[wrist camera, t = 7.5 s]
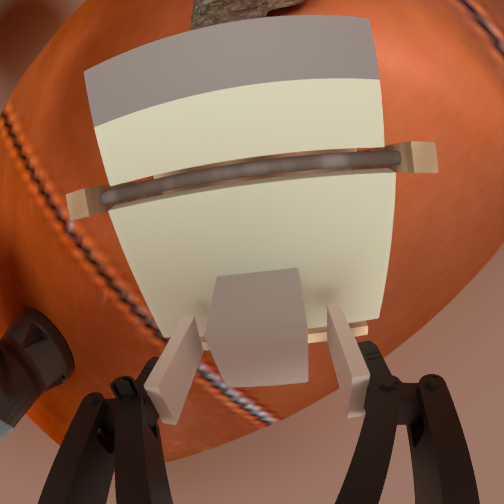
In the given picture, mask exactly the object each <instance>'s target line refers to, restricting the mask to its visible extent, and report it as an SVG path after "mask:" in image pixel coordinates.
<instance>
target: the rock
mask: <svg viewBox="0 0 504 504" xmlns="http://www.w3.org/2000/svg"><path fill="white" fill-rule="evenodd" d="M304 1H305V0H194V1H193V3H194V6H193V11H192V17H191V20H192V22H191V30H195V29H199V28H203V27H208V26H213V25H217V24H223V23H228V22H234V21H240V20H247V19H255V18H264V17H266V16H267V13H268V11H271V10H274V9H278V8H282V7H289V6H293V5H296V4H301V3H302V2H304Z"/></svg>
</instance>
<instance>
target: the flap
mask: <svg viewBox="0 0 504 504" xmlns="http://www.w3.org/2000/svg"><path fill="white" fill-rule="evenodd" d="M84 76H85V83H86V89H87V94H88V100H89V105H90V110H91V115H92V119H93V124H94V128H95V133H96V137H97V141H98V145H99V149H100V153H101V156H102V160H103V164H104V167H105V171H106V174H107V178H108V181H109V184H110V186H114V185H117V184H121V183H125V182H129V181H133V180H137V179H141V178H145V177H149V176H153V175H158V174H162V173H166V172H171V171H176V170H181V169H185V168H190V167H196V166H201V165H206V164H212V163H218V162H224V161H230V160H236V159H243V158H250V157H258V156H265V155H273V154H282V153H292V152H302V151H314V150H327V149H344V148H370V147H384V126H383V110H382V98H381V88H380V79H379V71H378V64H377V58H376V51H375V46H374V40H373V35H372V30H371V25H370V20H369V18H364V17H353V16H338V15H290V16H275V17H264V18H255V19H247V20H240V21H234V22H228V23H223V24H217V25H213V26H208V27H203V28H199V29H195V30H191V31H187V32H184V33H180V34H176V35H173V36H170V37H166V38H163V39H160V40H157V41H154V42H151V43H148V44H146V45H143V46H140V47H137V48H135V49H132V50H130V51H127V52H125V53H122V54H120V55H118V56H115V57H113V58H111V59H109V60H106V61H104V62H102V63H100V64H98V65H96V66H94V67H92V68H90V69H88V70H86V71H84ZM395 184H396V172H394V171H393V170H391V169H390V168H382V169H361V170H344V171H330V172H318V173H307V174H297V175H287V176H279V177H270V178H262V179H254V180H247V181H240V182H233V183H226V184H220V185H213V186H207V187H201V188H196V189H190V190H184V191H179V192H174V193H169V194H164V195H159V196H154V197H149V198H144V199H139V200H135V201H130V202H126V203H122V204H117V205H114V206H113V207H112V208H111V209H110V210H109V211H108V212H109V215H110V218H111V220H112V223H113V226H114V229H115V231H116V234H117V236H118V239H119V242H120V244H121V247H122V249H123V252H124V254H125V257H126V259H127V261H128V264H129V266H130V268H131V271H132V273H133V275H134V278H135V280H136V282H137V284H138V286H139V289H140V291H141V293H142V295H143V297H144V299H145V301H146V303H147V306H148V308H149V310H150V312H151V314H152V316H153V318H154V320H155V322H156V324H157V326H158V327H159V329H160V331H161V333H162V335H163V337H172V335H173V334H174V332H175V330H176V328H177V327H178V325H179V323H180V322H181V320H182V318H183V317H193V316H194V317H195V321H196V324H197V328H198V332H199V336H200V337H204V334H205V329H206V325H207V320H208V315H209V311H210V306H211V302H212V297H213V293H214V288H215V284H216V279H217V276H224V275H234V274H244V273H253V272H262V271H272V270H281V269H289V268H298V273H299V279H300V284H301V290H302V296H303V302H304V308H305V314H306V321H307V327H308V329H309V328H317V327H325V326H327V304H334V303H339V304H340V307H341V309H342V311H343V313H344V315H345V317H346V320H347V322H348V323H353V322H359V321H365V320H371V319H376V318H379V314H380V309H381V304H382V299H383V294H384V288H385V282H386V276H387V270H388V263H389V255H390V247H391V239H392V229H393V218H394V204H395Z"/></svg>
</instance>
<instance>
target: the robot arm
mask: <svg viewBox="0 0 504 504" xmlns="http://www.w3.org/2000/svg"><path fill="white" fill-rule="evenodd" d="M327 343H328V347H329V350H330V354H331V357H332V361H333V365H334V369H335V372H336V376H337V380H338V384H339V387H340V391H341V395H342V399H343V403H344V407H345V411H346V415H347V418H351V417H356V416H361V415H363V412H364V409H365V412H366V414H365V418H364V422H363V425H362V429H361V432H360V436H359V439H358V442H357V446H356V449H355V452H354V455H353V458H352V461H351V464H350V467H349V469H348V472H347V475H346V477H345V480H344V483H343V485H342V488H341V490H340V493H339V495H338V497H337V500H336V502H335V504H378V503H379V500H380V496H381V493H382V490H383V486H384V483H385V479H386V475H387V471H388V467H389V463H390V458H391V454H392V449H393V444H394V439H395V432H396V427H397V425H406V426H407V432H408V438H409V445H410V452H411V460H412V468H413V478H414V490H415V504H480V502H479V496H478V490H477V485H476V480H475V475H474V471H473V466H472V462H471V458H470V455H469V451H468V447H467V443H466V440H465V437H464V433H463V430H462V427H461V424H460V421H459V418H458V415H457V412H456V409H455V406H454V403H453V401H452V398H451V395H450V393H449V390H448V388H447V385H446V382H445V381H444V379H443V378H442V377H440V376H439V375H435V374H428V375H425V376H423V377H422V378H421V379H420V381H419V383H403V382H401V381H400V380H399V378H397V377H395V376H392V375H391V373H390V371H389V369H388V367H387V365H386V363H385V361H384V359H383V358H382V355H381V353H380V351H379V349H378V347H377V345H375V344H374V343H373V342H371V341H364V342H359V343H357V342H356V340H355V337H354V335H353V333H352V331H351V328H350V326H349V324H348V322H347V320H346V317H345V315H344V313H343V311H342V309H341V307H340V304H339V303H334V304H327ZM203 352H204V350H203V347H202V343H201V339H200V336H199V332H198V328H197V324H196V321H195V317H194V316H193V317H183V318H182V320H181V322H180V323H179V325H178V327H177V328H176V330H175V332H174V334H173V335H172V337H171V339H170V340H169V342H168V344H167V346H166V347H165V349H164V351H163V352H162V354H161V356H160V357H153V358H152V359H150V360H149V361H148V362H147V363H146V365H145V366H144V369H143V370H142V371H141V374H140V375H139V376H138V378H137V379H136V381H135V380H134V379H133V378H132V377H130V376H122V377H118V378H117V379H115V380H114V381H113V382H112V383H111V385H110V387H111V389H112V391H113V393H114V395H115V396H116V398H112V399H105V398H104V396H103V395H102V394H101V393H98V392H94V393H90V394H88V395H87V396H85V397H84V399H83V400H82V402H81V404H80V406H79V408H78V410H77V412H76V414H75V416H74V418H73V420H72V422H71V424H70V426H69V429H68V431H67V433H66V435H65V437H64V439H63V442H62V444H61V446H60V448H59V451H58V453H57V455H56V458H55V460H54V463H53V465H52V467H51V470H50V473H49V475H48V477H47V480H46V483H45V485H44V488H43V490H42V493H41V496H40V499H39V502H38V504H106V502H107V497H108V493H109V488H110V484H111V480H112V476H113V473H114V469H115V488H116V502H117V504H173V501H172V497H171V493H170V488H169V484H168V478H167V473H166V468H165V462H164V456H163V450H162V444H161V437H160V430H159V426H158V424H157V420H158V418H159V417H160V419H161V421H162V423H165V424H174V425H177V422H178V419H179V417H180V414H181V411H182V408H183V406H184V403H185V400H186V398H187V395H188V392H189V389H190V387H191V384H192V381H193V379H194V376H195V373H196V371H197V368H198V365H199V363H200V360H201V357H202V355H203ZM73 371H74V362H73V358H72V355H71V352H70V350H69V348H68V346H67V344H66V342H65V341H64V339H63V337H62V336H61V334H60V333H59V332H58V330H57V329H56V328H55V327H54V325H53V324H52V323H51V322H50V321H49V320H48V319H47V318H46V317H45V316H43V315H42V314H41V313H39V312H37V311H36V310H33V309H24V310H23V311H21V312H20V313H18V314H17V315H16V316H15V317H14V319H13V320H12V322H11V324H10V325H9V327H8V329H7V330H6V332H5V334H4V335H3V337H2V338H1V339H0V440H1V439H4V438H5V437H6V436H7V435H8V434H9V433H10V432H11V431H12V430H14V429H15V428H14V427H15V426H16V424H17V423H18V422H19V421H20V420H21V418H22V417H23V416H24V415H25V413H26V412H27V411H28V410H29V409H30V407H31V406H32V405H33V404H34V403H35V401H36V400H37V399H38V398H39V397H40V395H41V394H42V393H43V392H45V391H47V390H50V389H52V388H54V387H56V386H58V385H60V384H62V383H64V382H66V381H67V380H68V378H69V377H70V376H71V375H72V374H73ZM98 430H99V432H98Z"/></svg>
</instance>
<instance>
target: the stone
mask: <svg viewBox="0 0 504 504" xmlns="http://www.w3.org/2000/svg"><path fill="white" fill-rule="evenodd" d="M204 337H205V340H206V342H207V344H208V347H209V349H210V352H211V354H212V356H213V359H214V361H215V363H216V365H217V368H218V370H219V372H220V374H221V377H222V379H223V381H224V383H225V385H226V387H254V386H270V385H283V384H294V383H303V382H308V327H307V321H306V314H305V308H304V302H303V296H302V290H301V284H300V279H299V273H298V268H289V269H281V270H272V271H262V272H253V273H244V274H234V275H224V276H217V279H216V284H215V288H214V293H213V297H212V302H211V306H210V311H209V315H208V320H207V325H206V329H205V334H204Z"/></svg>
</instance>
